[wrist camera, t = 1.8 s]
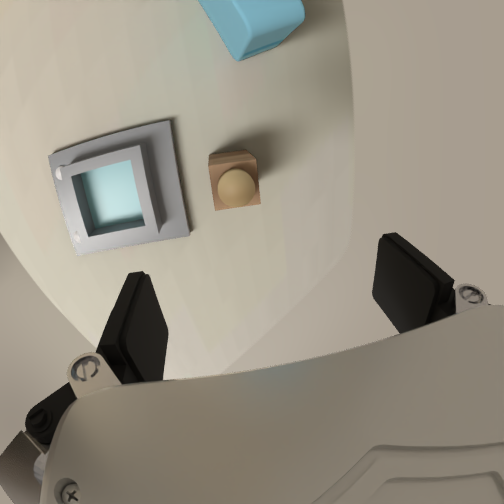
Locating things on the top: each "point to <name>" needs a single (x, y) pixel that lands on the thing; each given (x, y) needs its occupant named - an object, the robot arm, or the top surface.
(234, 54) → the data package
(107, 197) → the frame
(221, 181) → the wooden block with knob
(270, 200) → the top surface
